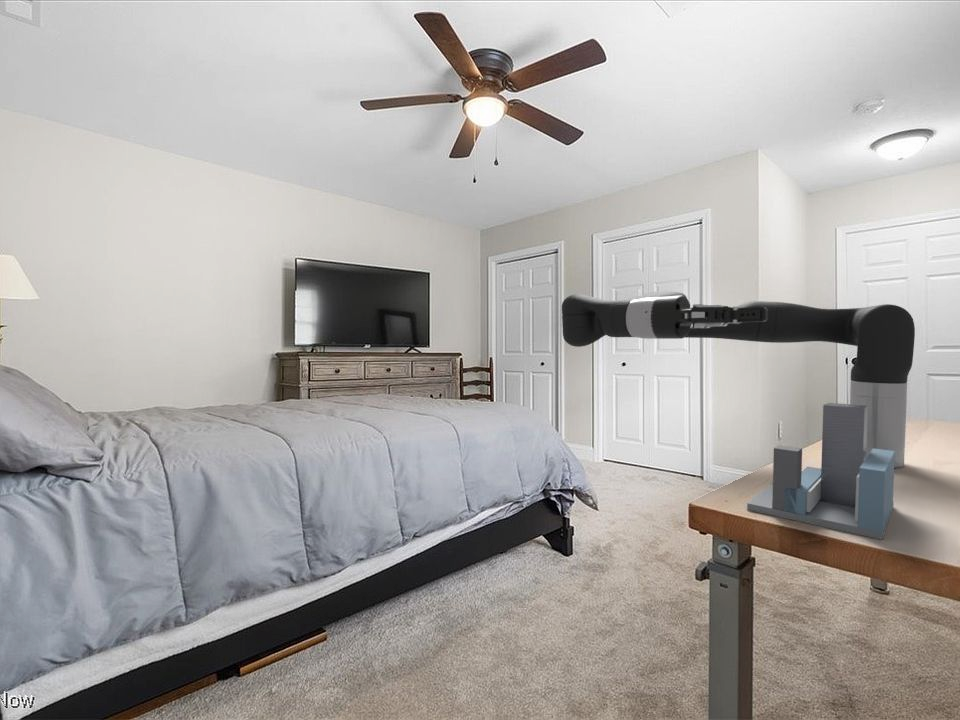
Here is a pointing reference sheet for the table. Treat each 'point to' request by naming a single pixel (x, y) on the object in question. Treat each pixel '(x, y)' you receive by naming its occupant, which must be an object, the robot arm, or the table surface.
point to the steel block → (842, 451)
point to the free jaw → (794, 482)
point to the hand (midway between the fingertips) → (766, 314)
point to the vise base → (861, 520)
